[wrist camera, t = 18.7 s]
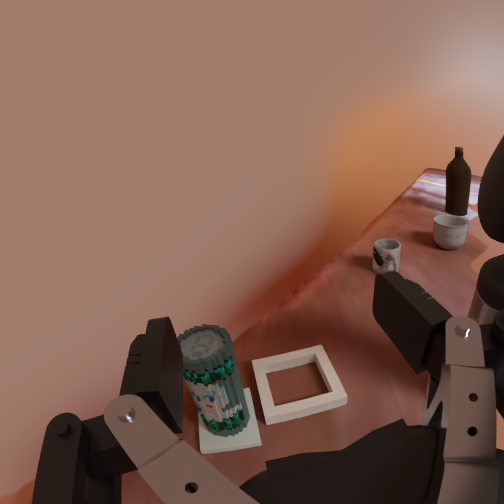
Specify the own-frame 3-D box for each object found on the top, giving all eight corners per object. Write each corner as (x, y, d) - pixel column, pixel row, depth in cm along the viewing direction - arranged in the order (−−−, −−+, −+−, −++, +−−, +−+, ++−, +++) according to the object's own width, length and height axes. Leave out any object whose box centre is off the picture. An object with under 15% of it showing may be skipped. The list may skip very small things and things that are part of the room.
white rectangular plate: (250, 391, 43) (249, 387, 42) (261, 445, 34) (261, 441, 33) (199, 399, 42) (197, 396, 42) (202, 454, 33) (200, 451, 33)
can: (199, 432, 35) (164, 358, 29) (213, 399, 41) (186, 322, 34) (242, 439, 34) (218, 366, 27) (253, 405, 39) (236, 326, 33)
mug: (369, 264, 72) (370, 239, 69) (392, 261, 72) (394, 237, 69) (381, 284, 63) (384, 258, 60) (407, 280, 63) (410, 254, 60)
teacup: (442, 255, 70) (445, 227, 66) (424, 239, 80) (426, 214, 76) (478, 249, 69) (482, 223, 65) (459, 235, 79) (462, 211, 75)
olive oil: (471, 212, 94) (475, 149, 83) (463, 218, 89) (467, 150, 79) (449, 205, 102) (451, 145, 92) (439, 211, 98) (441, 146, 87)
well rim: (321, 352, 48) (321, 344, 47) (346, 404, 38) (347, 396, 37) (253, 368, 47) (251, 360, 46) (266, 425, 37) (265, 417, 36)
